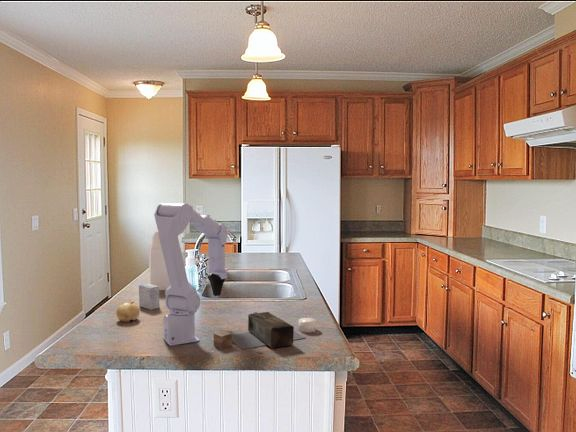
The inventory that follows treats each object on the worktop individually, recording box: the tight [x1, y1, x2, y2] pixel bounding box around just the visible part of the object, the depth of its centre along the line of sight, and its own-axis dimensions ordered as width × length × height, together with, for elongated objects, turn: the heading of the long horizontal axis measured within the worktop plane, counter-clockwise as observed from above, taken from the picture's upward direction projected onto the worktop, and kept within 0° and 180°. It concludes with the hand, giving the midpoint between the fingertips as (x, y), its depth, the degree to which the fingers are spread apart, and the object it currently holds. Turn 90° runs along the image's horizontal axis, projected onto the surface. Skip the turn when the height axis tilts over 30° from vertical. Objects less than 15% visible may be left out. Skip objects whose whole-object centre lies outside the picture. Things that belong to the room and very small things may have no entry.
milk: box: [148, 230, 170, 291], centre depth 234 cm, size 12×12×26 cm
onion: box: [115, 299, 140, 323], centre depth 182 cm, size 8×8×7 cm
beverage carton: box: [247, 311, 295, 348], centre depth 163 cm, size 8×19×7 cm, turn 27°
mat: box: [232, 331, 306, 350], centre depth 165 cm, size 22×14×1 cm, turn 119°
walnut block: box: [213, 330, 233, 350], centre depth 156 cm, size 4×4×4 cm
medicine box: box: [138, 283, 160, 311], centre depth 200 cm, size 8×4×9 cm, turn 47°
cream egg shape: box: [298, 317, 317, 334], centre depth 172 cm, size 6×6×4 cm
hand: (216, 295), depth 179 cm, fingers closed
